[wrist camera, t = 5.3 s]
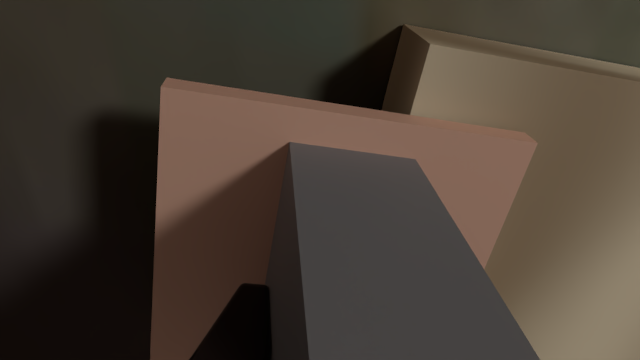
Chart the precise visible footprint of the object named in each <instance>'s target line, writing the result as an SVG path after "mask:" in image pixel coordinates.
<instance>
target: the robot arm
mask: <svg viewBox="0 0 640 360" xmlns="http://www.w3.org/2000/svg"><path fill="white" fill-rule="evenodd" d="M271 350H272V343H271V317H270V295H269V288H268V286H267V285H263V284H252V283H243V284H241V285H240V286H239V287H238V289H237V290H236V291H235V293H234V294H233V296H232V297H231V299H230V300H229V302H228V303H227V305H226V306H225V308H224V309H223V311H222V312H221V314H220V315H219V316H218V318H217V319H216V321H215V322H214V324H213V325H212V327H211V328H210V330H209V331H208V333H207V334H206V336H205V337H204V338H203V340H202V341H201V343H200V344H199V346H198V347H197V349H196V350H195V352H194V353H193V355H192V356H191V358H190V359H189V360H270V359H271Z"/></svg>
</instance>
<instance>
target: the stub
mask: <svg viewBox="0 0 640 360" xmlns="http://www.w3.org/2000/svg"><path fill="white" fill-rule="evenodd" d="M537 144H538V143H537V142H536V141H535V140H533V139H532V138H531V137H530V136H528V135H527V134H526V133H525V132H518V131H512V130H505V129H499V128H492V127H485V126H479V125H472V124H466V123H459V122H453V121H446V120H440V119H433V118H427V117H420V116H414V115H407V114H401V113H394V112H388V111H381V110H374V109H368V108H361V107H355V106H348V105H342V104H335V103H329V102H322V101H316V100H309V99H303V98H296V97H290V96H283V95H277V94H270V93H264V92H257V91H250V90H244V89H237V88H231V87H224V86H218V85H211V84H205V83H198V82H192V81H185V80H179V79H172V78H166V80H165V81H164V83H163V84H162V86H161V95H160V120H159V145H158V170H157V195H156V221H155V246H154V271H153V296H152V321H151V346H150V360H189V359H190V358H191V356H192V355H193V353H194V352H195V350H196V349H197V347H198V346H199V344H200V343H201V341H202V340H203V338H204V337H205V336H206V334H207V333H208V331H209V330H210V328H211V327H212V325H213V324H214V322H215V321H216V319H217V318H218V316H219V315H220V314H221V312H222V311H223V309H224V308H225V306H226V305H227V303H228V302H229V300H230V299H231V297H232V296H233V294H234V293H235V291H236V290H237V289H238V287H239V286H240V285H241V284H243V283H252V284H263V285H267V286H268V288H269V295H270V317H271V343H272V350H271V359H270V360H540V359H539V357H538V356H537V354H536V352H535V351H534V349H533V347H532V346H531V344H530V343H529V341H528V339H527V338H526V336H525V335H524V333H523V331H522V330H521V328H520V327H519V325H518V323H517V322H516V320H515V318H514V317H513V315H512V314H511V312H510V310H509V309H508V307H507V306H506V304H505V302H504V301H503V299H502V298H501V296H500V294H499V293H498V291H497V289H496V288H495V286H494V285H493V283H492V281H491V280H490V278H489V277H488V275H487V273H486V272H485V270H484V269H485V266H486V264H487V262H488V259H489V257H490V254H491V252H492V250H493V247H494V245H495V243H496V240H497V238H498V236H499V233H500V231H501V229H502V226H503V224H504V222H505V219H506V217H507V215H508V212H509V210H510V208H511V205H512V203H513V200H514V198H515V196H516V193H517V191H518V189H519V186H520V184H521V182H522V179H523V177H524V175H525V172H526V170H527V168H528V165H529V163H530V161H531V158H532V156H533V154H534V151H535V149H536V146H537Z"/></svg>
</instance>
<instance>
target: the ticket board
mask: <svg viewBox="0 0 640 360" xmlns="http://www.w3.org/2000/svg"><path fill="white" fill-rule="evenodd" d="M381 111H388V112H394V113H401V114H407V115H414V116H420V117H427V118H433V119H440V120H446V121H453V122H459V123H466V124H472V125H479V126H485V127H492V128H499V129H505V130H512V131H518V132H525V133H526V134H527V135H528V136H530V137H531V138H532V139H533V140H535V141H536V142H537V143H538V144H537V146H536V149H535V151H534V154H533V156H532V158H531V161H530V163H529V165H528V168H527V170H526V172H525V175H524V177H523V179H522V182H521V184H520V186H519V189H518V191H517V193H516V196H515V198H514V200H513V203H512V205H511V208H510V210H509V212H508V215H507V217H506V219H505V222H504V224H503V226H502V229H501V231H500V233H499V236H498V238H497V240H496V243H495V245H494V247H493V250H492V252H491V254H490V257H489V259H488V262H487V264H486V266H485V269H484V270H485V272H486V273H487V275H488V277H489V278H490V280H491V281H492V283H493V285H494V286H495V288H496V289H497V291H498V293H499V294H500V296H501V298H502V299H503V301H504V302H505V304H506V306H507V307H508V309H509V310H510V312H511V314H512V315H513V317H514V318H515V320H516V322H517V323H518V325H519V327H520V328H521V330H522V331H523V333H524V335H525V336H526V338H527V339H528V341H529V343H530V344H531V346H532V347H533V349H534V351H535V352H536V354H537V356H538V357H539V359H540V360H640V68H637V67H632V66H626V65H621V64H616V63H610V62H605V61H599V60H594V59H589V58H583V57H578V56H573V55H567V54H562V53H556V52H551V51H546V50H540V49H535V48H530V47H524V46H519V45H513V44H508V43H503V42H497V41H492V40H487V39H481V38H476V37H470V36H465V35H460V34H454V33H449V32H444V31H438V30H433V29H427V28H422V27H417V26H411V25H406V24H403V28H402V32H401V36H400V40H399V43H398V47H397V51H396V55H395V59H394V63H393V67H392V71H391V74H390V78H389V82H388V86H387V90H386V94H385V98H384V102H383V105H382V109H381Z"/></svg>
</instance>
